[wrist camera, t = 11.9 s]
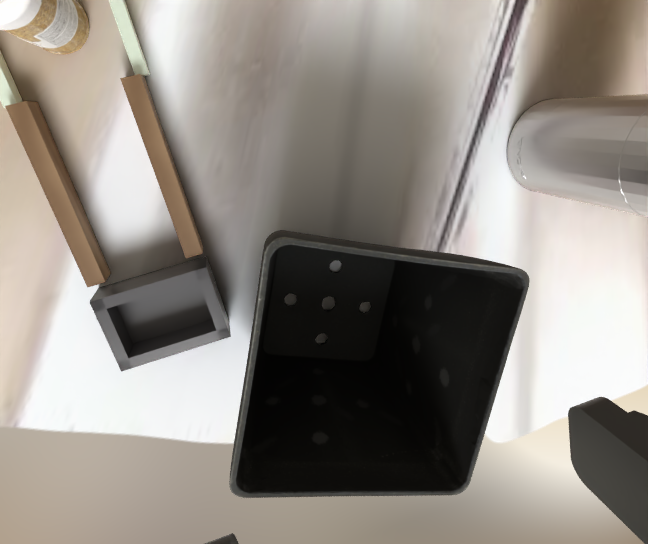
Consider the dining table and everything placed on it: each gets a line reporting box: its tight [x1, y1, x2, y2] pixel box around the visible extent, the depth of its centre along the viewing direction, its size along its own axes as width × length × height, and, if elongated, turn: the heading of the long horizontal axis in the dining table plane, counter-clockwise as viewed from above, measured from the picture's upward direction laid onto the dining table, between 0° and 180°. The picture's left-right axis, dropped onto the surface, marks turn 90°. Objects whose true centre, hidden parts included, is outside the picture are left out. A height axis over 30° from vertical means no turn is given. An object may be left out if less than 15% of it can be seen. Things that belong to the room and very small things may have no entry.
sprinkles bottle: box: [0, 0, 89, 54], centre depth 30 cm, size 5×5×14 cm
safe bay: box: [0, 0, 150, 108], centre depth 35 cm, size 11×10×2 cm
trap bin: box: [90, 256, 230, 371], centre depth 43 cm, size 10×7×4 cm
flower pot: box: [230, 230, 529, 498], centre depth 41 cm, size 19×19×17 cm
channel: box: [5, 74, 203, 287], centre depth 40 cm, size 10×15×2 cm, turn 14°
